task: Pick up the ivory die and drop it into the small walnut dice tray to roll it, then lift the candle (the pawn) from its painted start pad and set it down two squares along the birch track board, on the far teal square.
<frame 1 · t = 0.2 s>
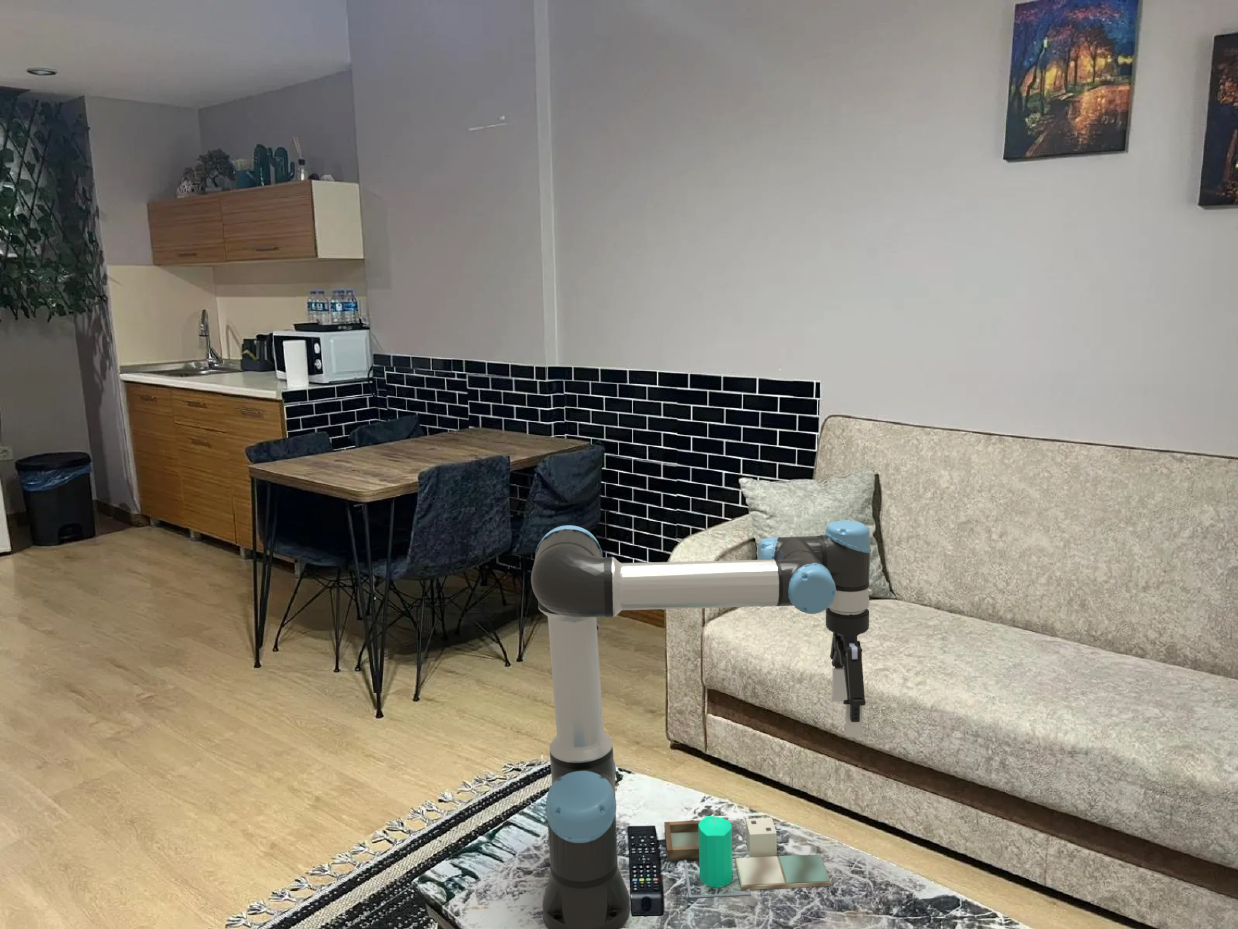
hand: (846, 717, 168), 27 cm above the table, fingers open, 13 cm apart
candle: (716, 878, 167), on the table
start pad: (716, 876, 167), on the table
track: (781, 873, 167), on the table
die: (761, 849, 175), on the table
tray: (692, 845, 176), on the table
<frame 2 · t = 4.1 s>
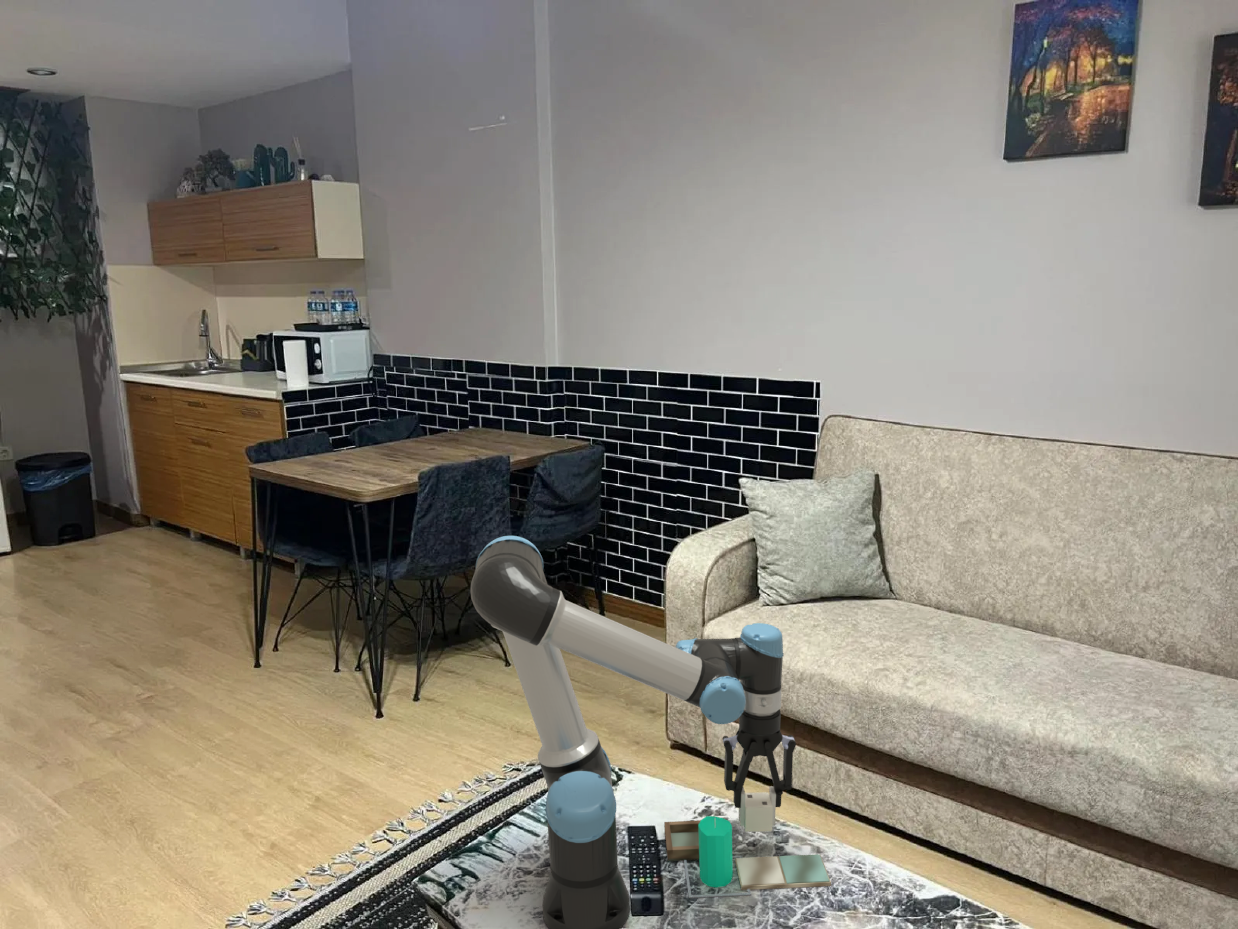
hand: (756, 821, 173), 6 cm above the table, fingers closed on die, 5 cm apart
die: (756, 823, 173), point 5 cm above the table, touching gripper
everything else where it was.
when the fingers open (6 cm above the table, at t = 5.6 s): die drops 5 cm, resting on tray.
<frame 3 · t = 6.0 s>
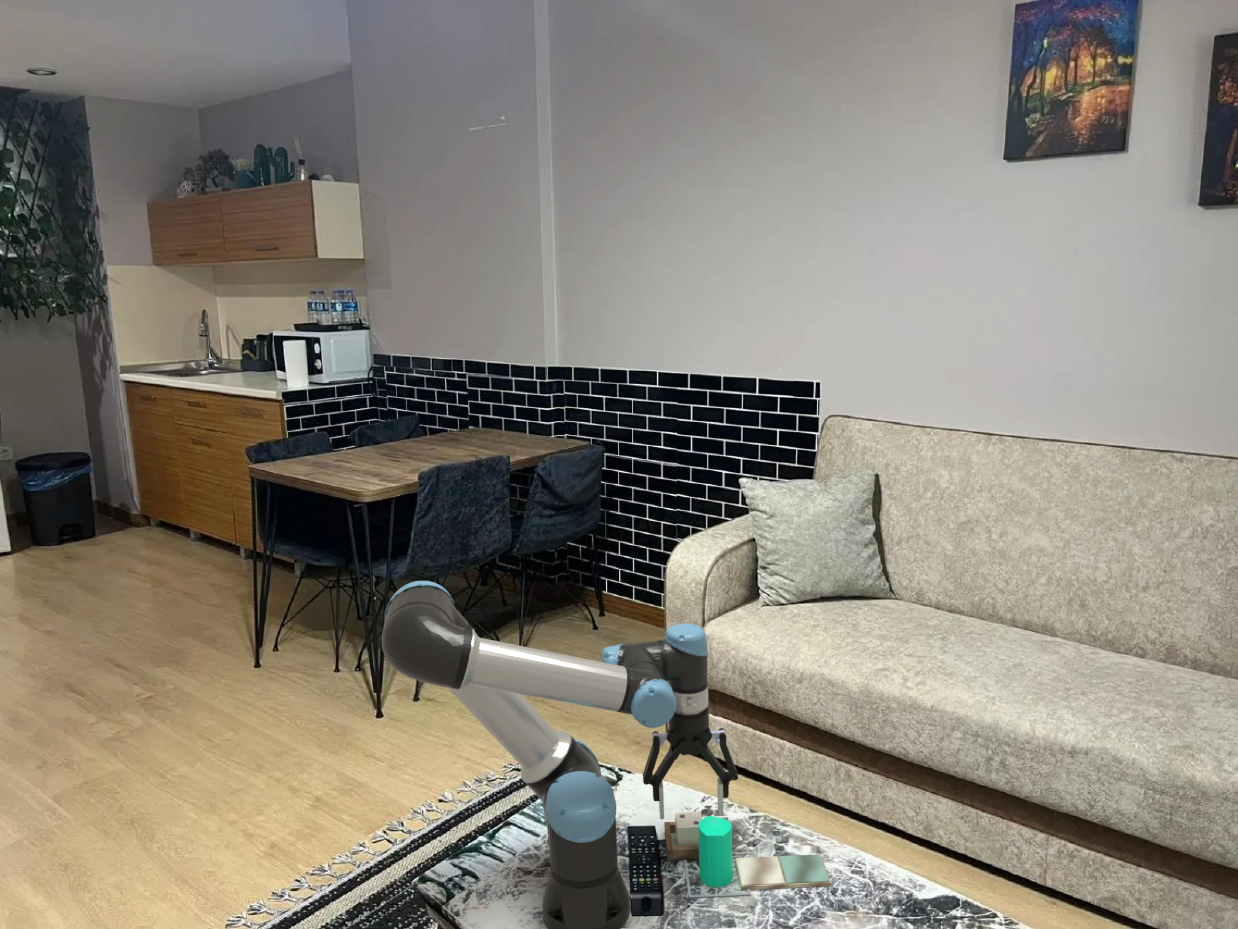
hand: (691, 813, 175), 7 cm above the table, fingers open, 10 cm apart
die: (689, 843, 176), point 1 cm above the table, touching tray
everything else where it was.
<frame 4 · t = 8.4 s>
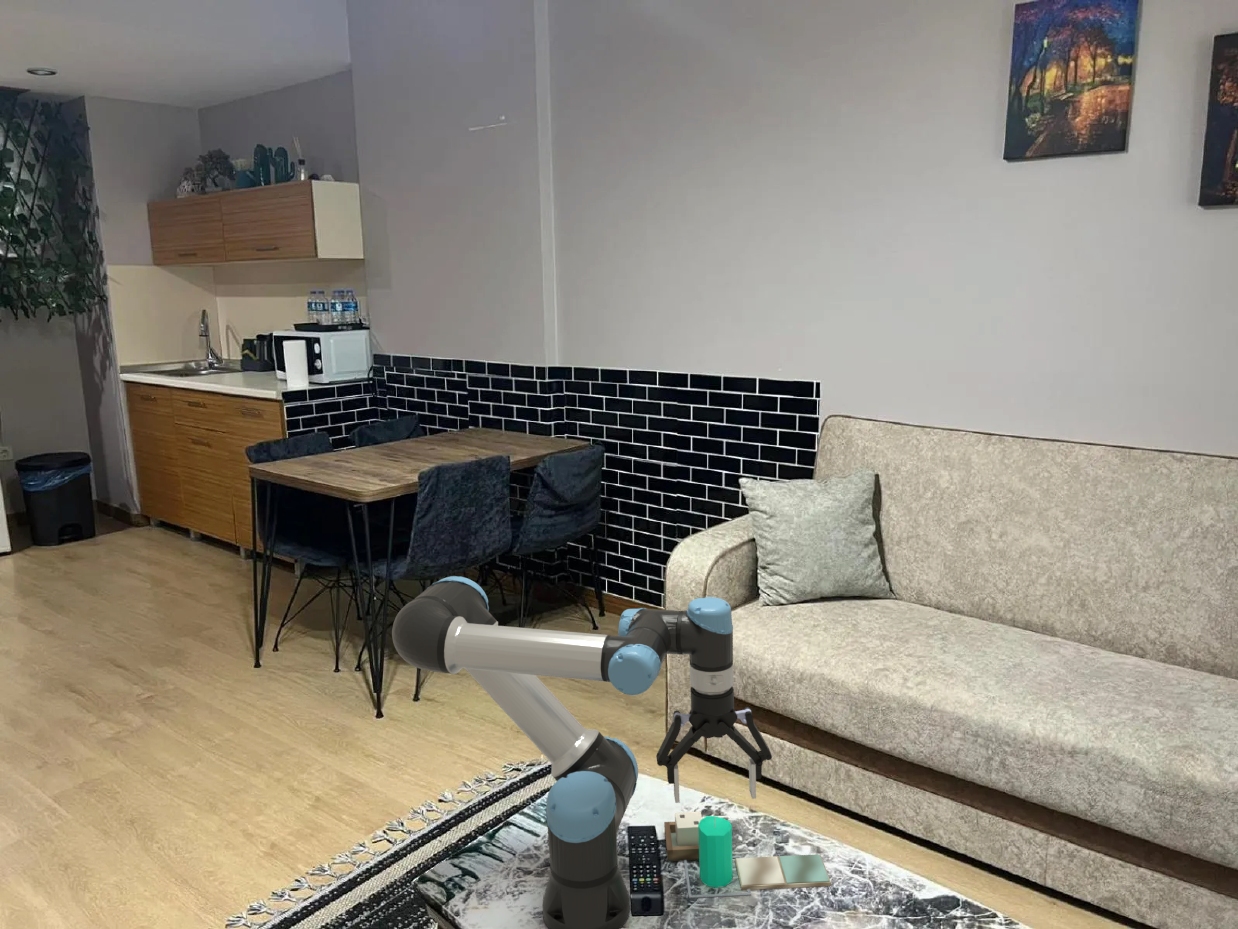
hand: (714, 796, 164), 16 cm above the table, fingers open, 13 cm apart
nothing on the table moved.
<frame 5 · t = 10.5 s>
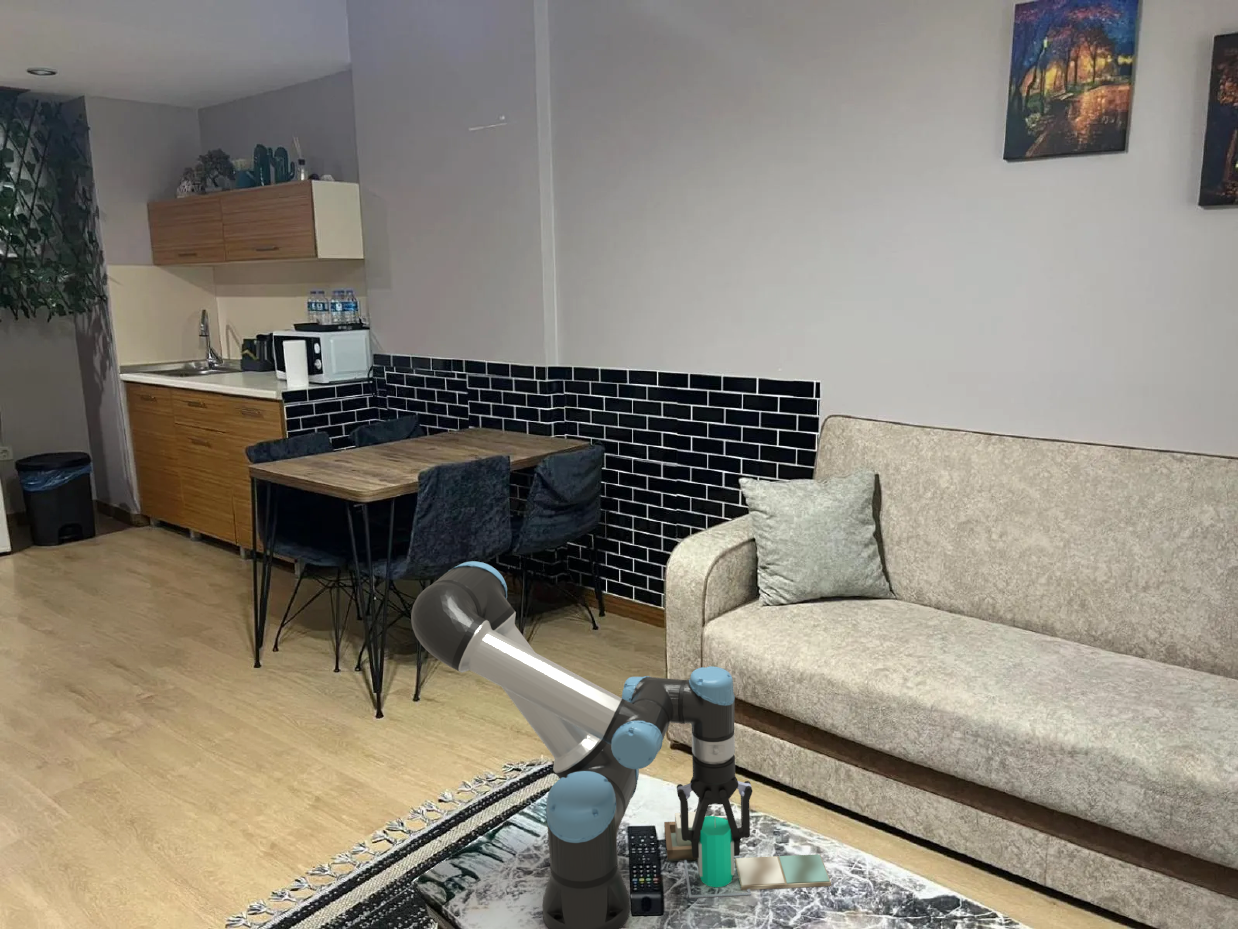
hand: (716, 870, 167), 1 cm above the table, fingers closed on candle, 5 cm apart
candle: (716, 877, 167), on the table, touching gripper
everything else where it was.
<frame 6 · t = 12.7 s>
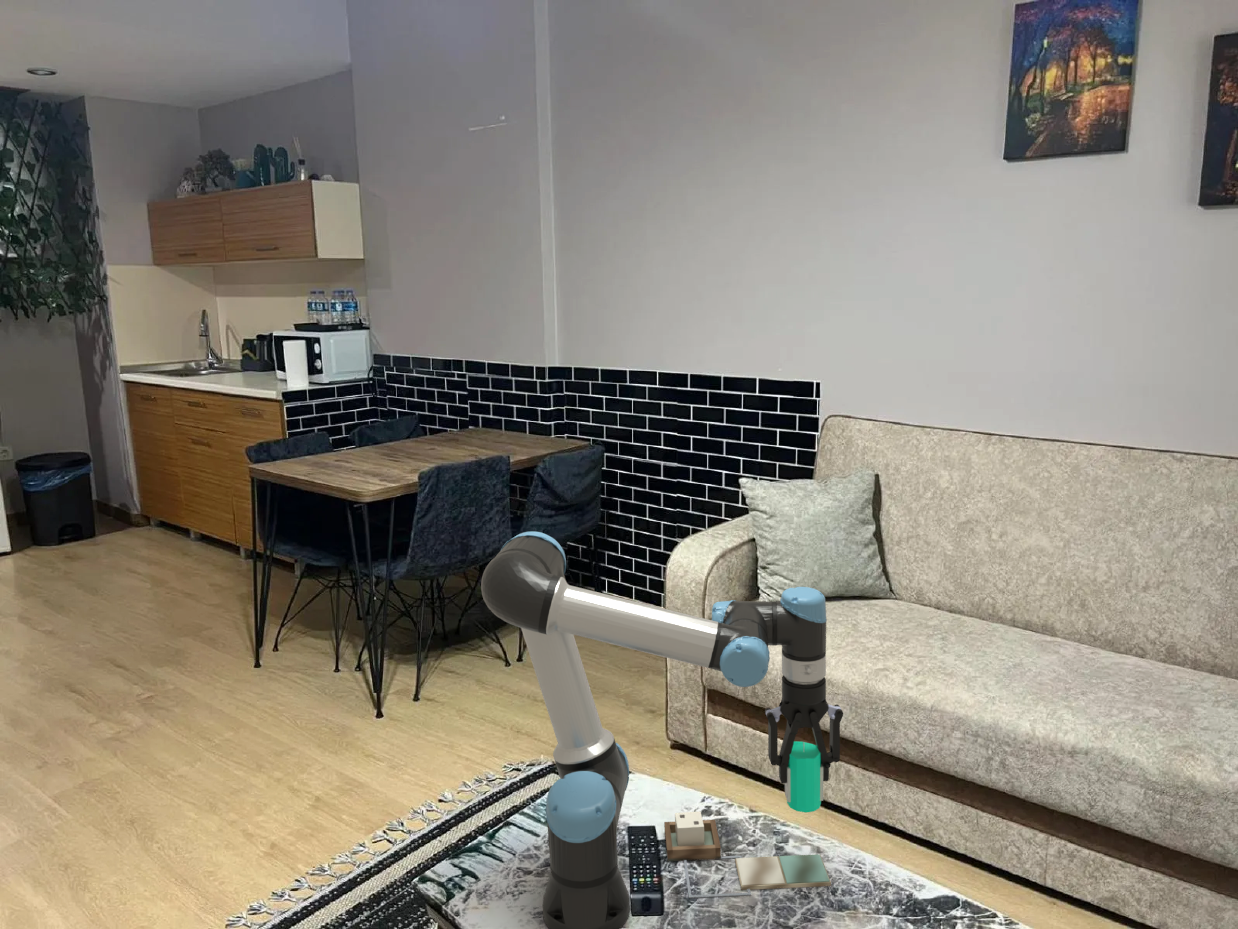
hand: (803, 797, 164), 15 cm above the table, fingers closed on candle, 5 cm apart
candle: (803, 804, 164), point 14 cm above the table, touching gripper
everything else where it was.
when the fingers open (4 cm above the table, at t = 15.0 s): candle drops 1 cm, resting on track.
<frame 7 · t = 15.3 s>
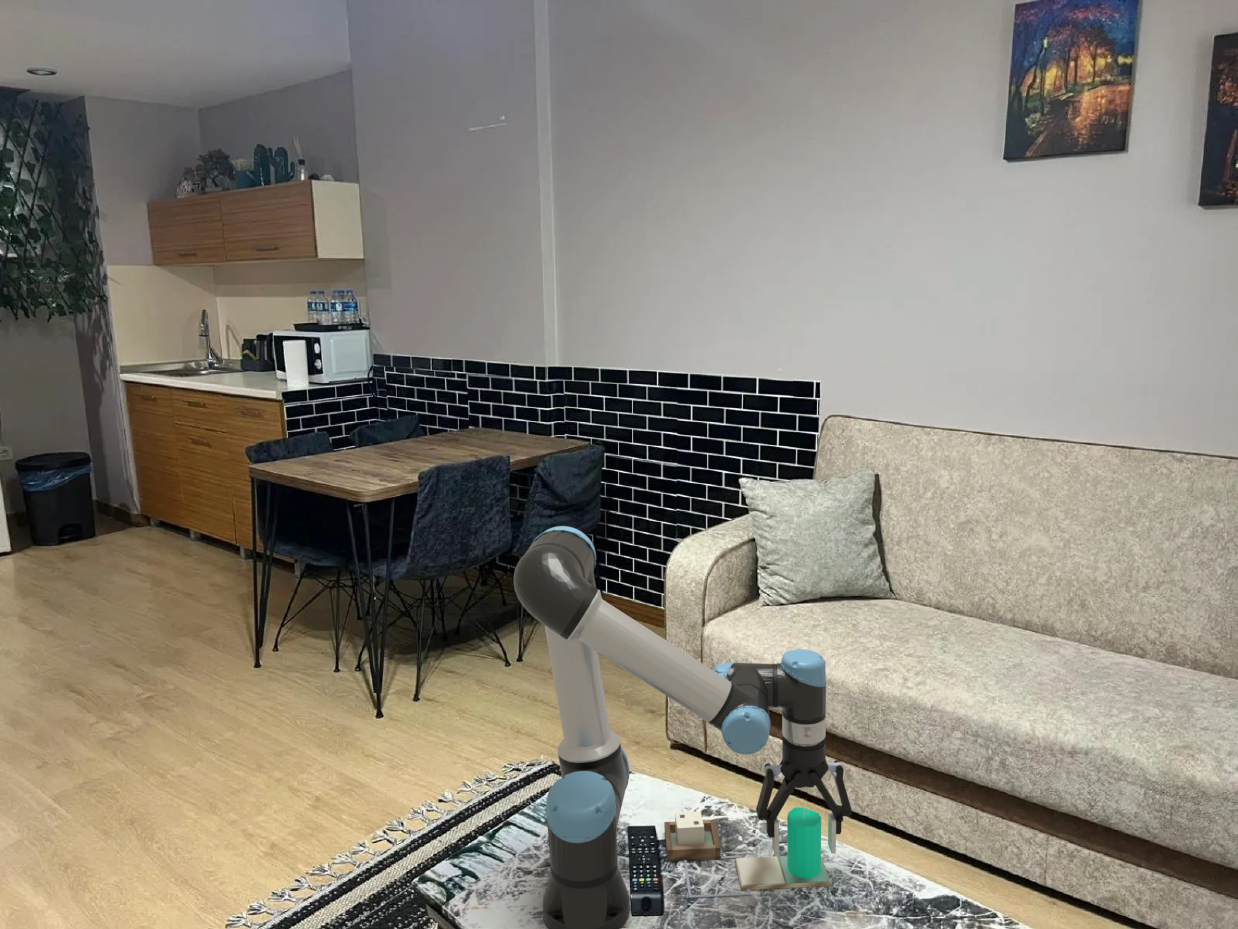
hand: (803, 850, 166), 5 cm above the table, fingers open, 9 cm apart
candle: (804, 869, 167), point 1 cm above the table, touching track
everything else where it was.
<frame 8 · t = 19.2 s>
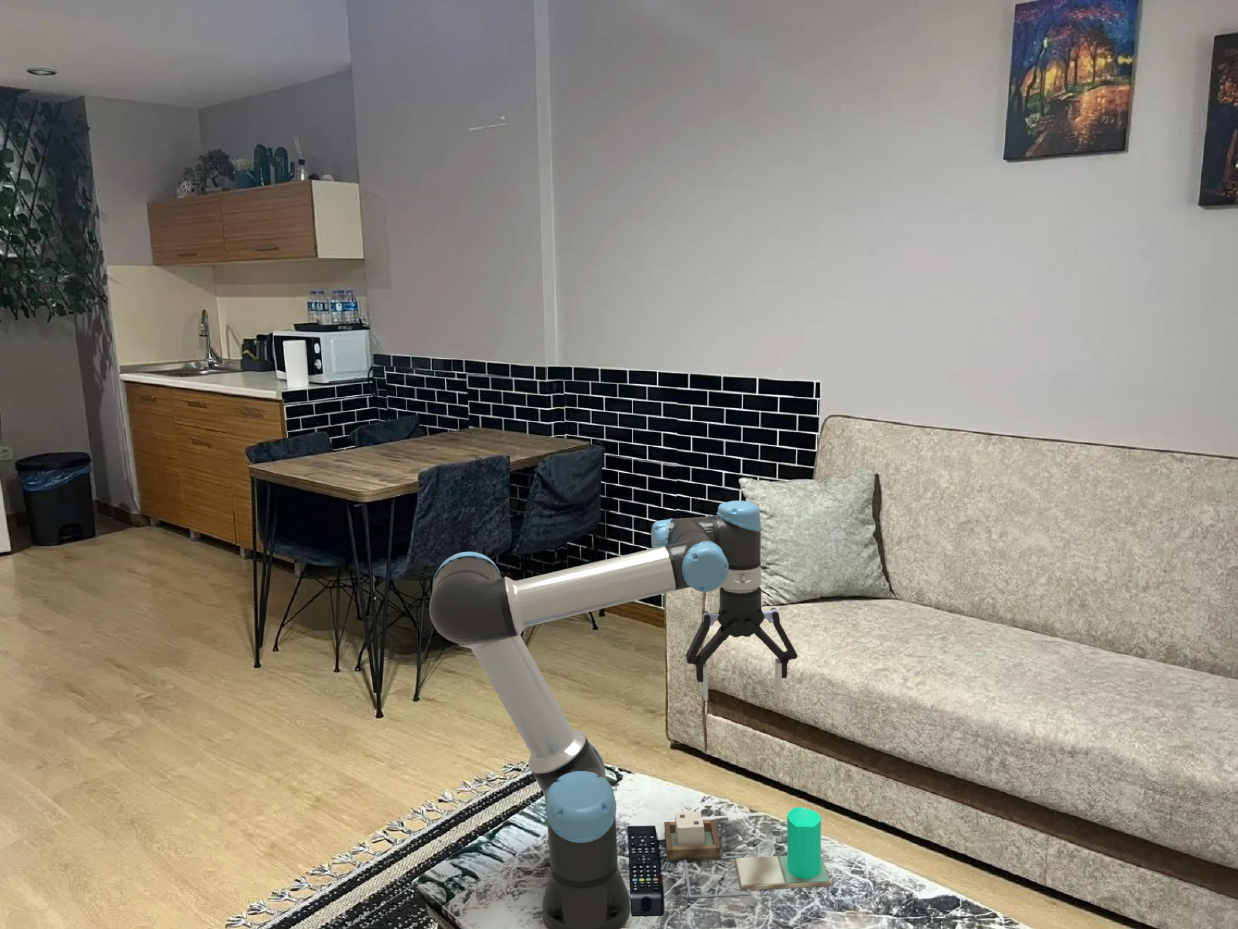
hand: (741, 695, 170), 31 cm above the table, fingers open, 13 cm apart
nothing on the table moved.
at the end: candle 0.1 cm from the target spot, point 0.7 cm above the table; candle tilted 0°; die inside the target area on the tray (0.4 cm from its centre), point 0.6 cm above the tray's base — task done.
